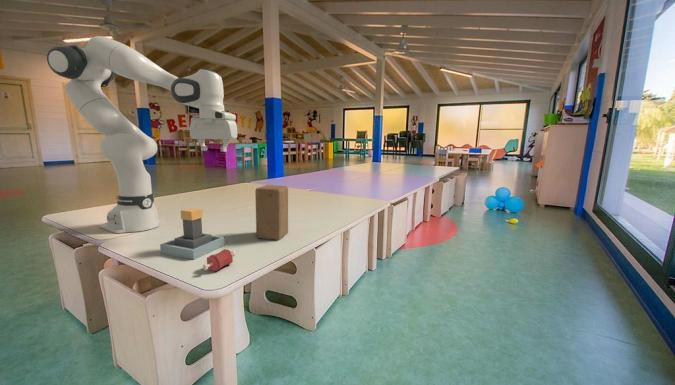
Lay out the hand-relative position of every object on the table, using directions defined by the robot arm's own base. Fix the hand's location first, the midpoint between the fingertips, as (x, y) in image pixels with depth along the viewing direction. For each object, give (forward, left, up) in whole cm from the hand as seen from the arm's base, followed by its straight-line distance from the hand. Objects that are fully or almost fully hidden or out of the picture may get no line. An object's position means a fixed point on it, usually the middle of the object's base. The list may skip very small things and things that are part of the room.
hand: (213, 151), depth 110 cm
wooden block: (+23, +5, -33) cm, 41 cm away
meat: (+24, -26, -33) cm, 49 cm away
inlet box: (+6, -18, -33) cm, 38 cm away
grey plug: (+6, -18, -33) cm, 38 cm away
